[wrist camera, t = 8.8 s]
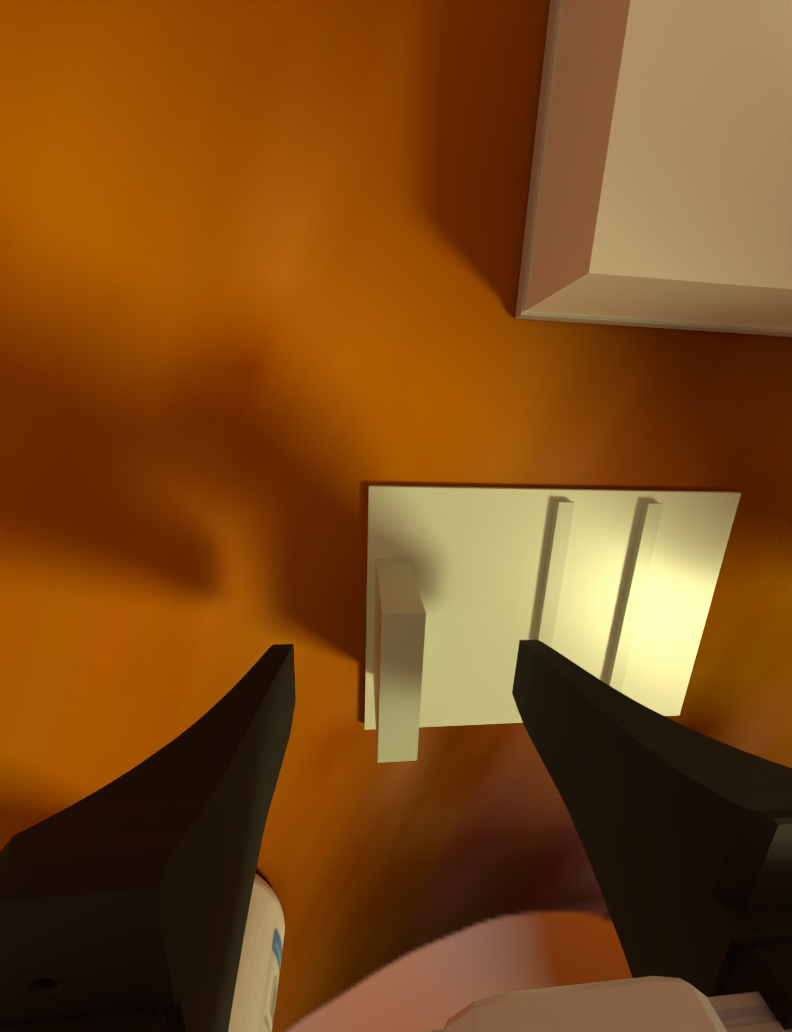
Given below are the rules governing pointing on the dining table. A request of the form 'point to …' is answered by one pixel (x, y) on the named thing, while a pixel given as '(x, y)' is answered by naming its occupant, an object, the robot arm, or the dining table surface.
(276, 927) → the supplement tub
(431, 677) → the lid
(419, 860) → the dining table surface
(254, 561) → the dining table surface
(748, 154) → the block
